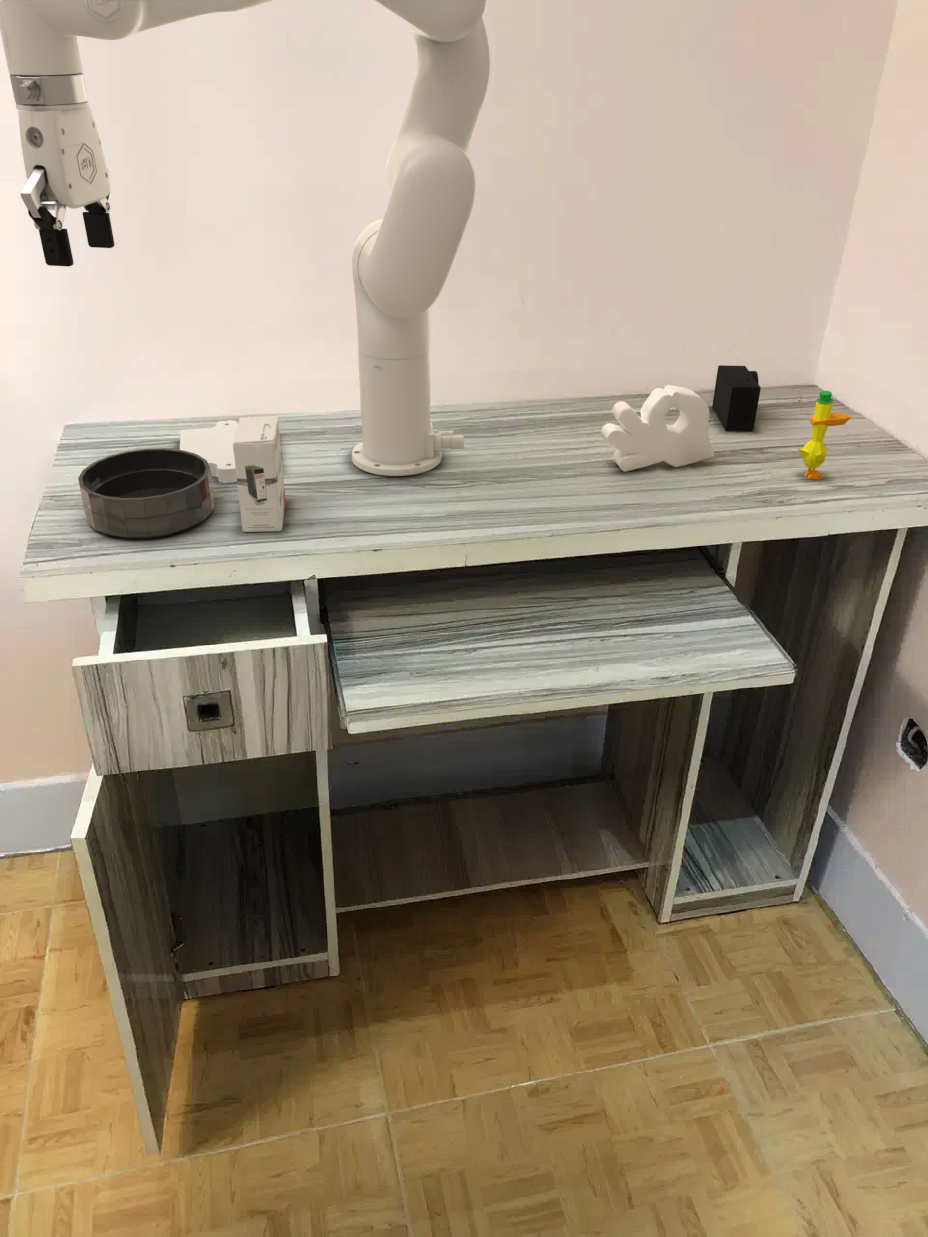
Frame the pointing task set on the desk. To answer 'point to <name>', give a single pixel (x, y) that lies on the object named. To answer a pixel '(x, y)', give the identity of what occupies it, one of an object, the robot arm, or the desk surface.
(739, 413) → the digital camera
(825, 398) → the toy figure
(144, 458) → the bowl
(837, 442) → the desk surface
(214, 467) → the mounting plate
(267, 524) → the ink box
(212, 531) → the desk surface
